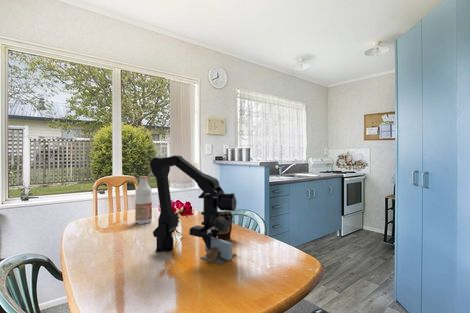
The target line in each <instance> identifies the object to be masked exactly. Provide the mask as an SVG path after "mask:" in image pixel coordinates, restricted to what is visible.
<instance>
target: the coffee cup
mask: <svg viewBox="0 0 470 313" xmlns="http://www.w3.org/2000/svg"><path fill="white" fill-rule="evenodd" d="M219 212H220V216H221V217H224V218H225V217H226V216H230V217H231V223H232V224H231V225H230V226H229V228H228V230H225V231H223V232H219V233H218V236H217V238H218V239H221V240H224V241H228V242H230V241H231V239H232V238H231V233H232V228H233V219H234V218H233V217H234V215H233V213H232V212H233V211H225V210H221V211H219Z"/></svg>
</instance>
